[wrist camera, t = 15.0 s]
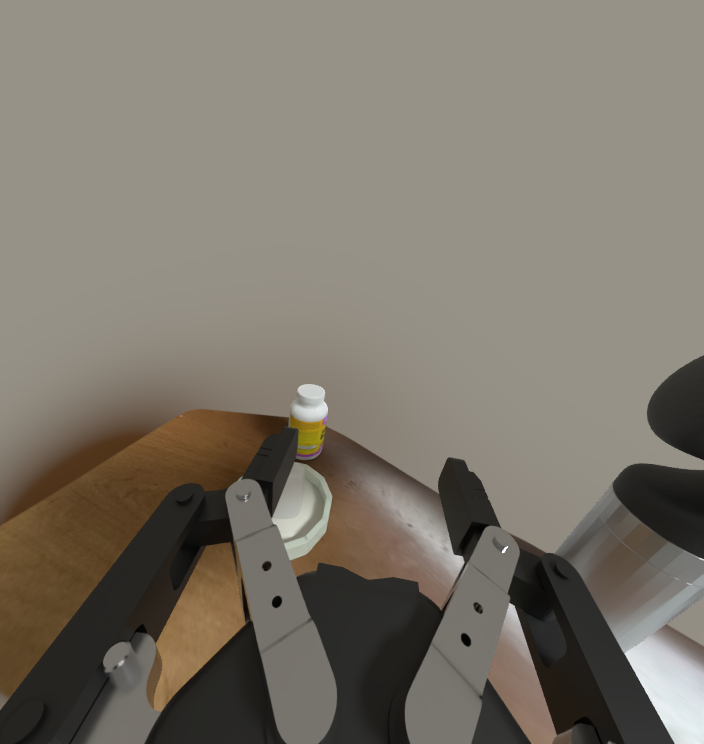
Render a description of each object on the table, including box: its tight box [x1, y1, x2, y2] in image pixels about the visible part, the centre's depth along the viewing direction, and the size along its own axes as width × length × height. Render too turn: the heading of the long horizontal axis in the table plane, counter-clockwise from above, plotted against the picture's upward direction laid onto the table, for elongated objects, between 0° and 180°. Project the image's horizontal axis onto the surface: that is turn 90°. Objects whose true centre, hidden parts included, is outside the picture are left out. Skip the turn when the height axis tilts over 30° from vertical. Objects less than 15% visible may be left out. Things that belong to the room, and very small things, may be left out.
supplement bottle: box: [289, 384, 328, 460], centre depth 47 cm, size 7×7×13 cm
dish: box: [238, 463, 332, 560], centre depth 37 cm, size 14×14×2 cm
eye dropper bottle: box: [272, 462, 305, 519], centre depth 35 cm, size 4×6×12 cm
